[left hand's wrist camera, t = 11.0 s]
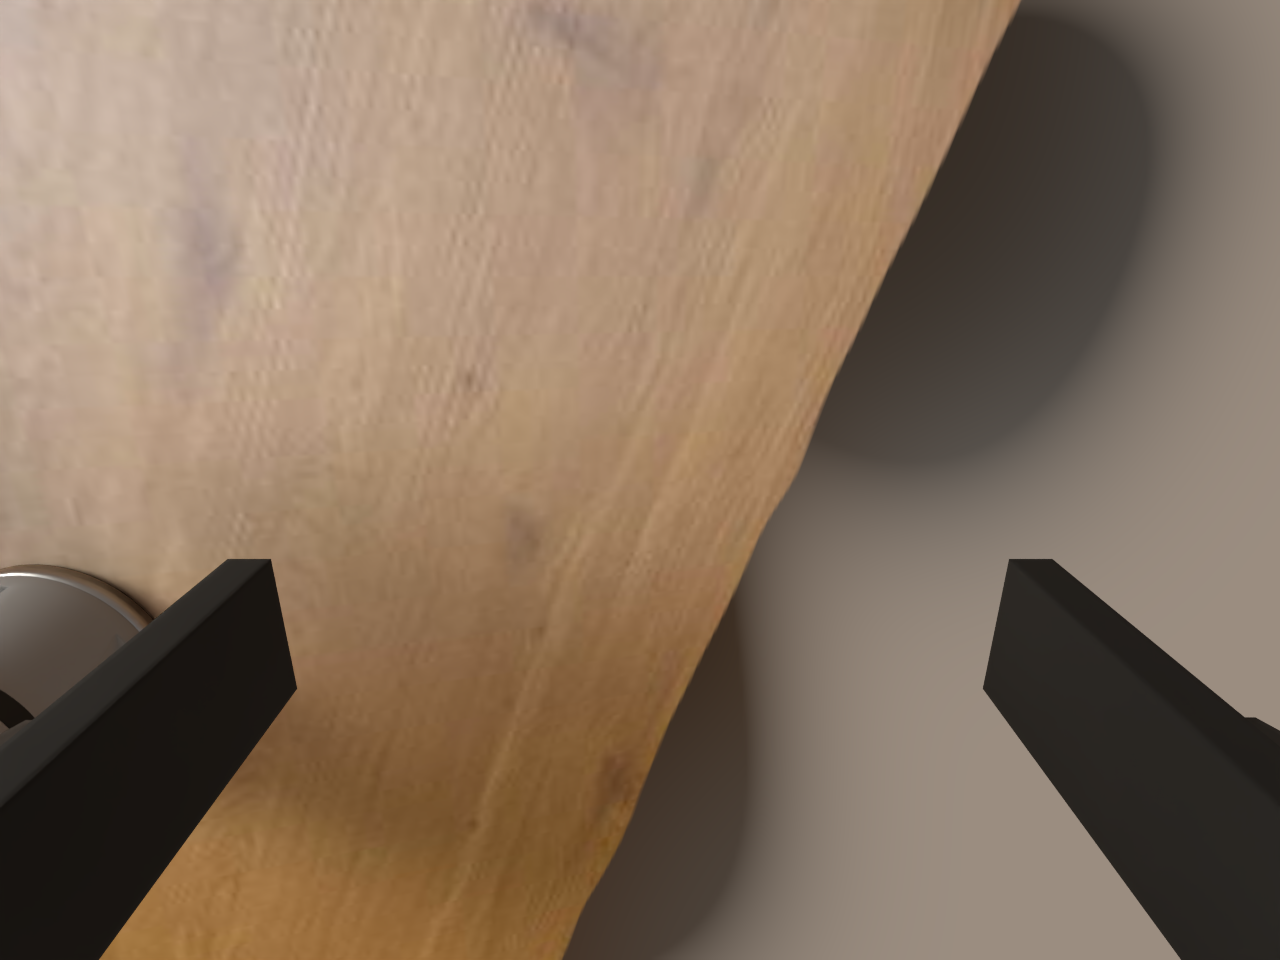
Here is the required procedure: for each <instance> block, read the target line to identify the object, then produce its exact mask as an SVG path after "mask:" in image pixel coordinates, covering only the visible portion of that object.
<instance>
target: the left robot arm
mask: <svg viewBox="0 0 1280 960" xmlns="http://www.w3.org/2000/svg"><path fill="white" fill-rule="evenodd" d="M296 689H297V686H296V681H295V676H294V671H293V666H292V661H291V656H290V651H289V646H288V641H287V636H286V631H285V627H284V622H283V617H282V612H281V607H280V602H279V597H278V592H277V587H276V582H275V577H274V572H273V567H272V562H271V559H227V560H226V561H225V562H224V563H222V564H221V565H220V566H219V567H218V568H216V569H215V570H214V571H213V572H211V573H210V574H209V575H208V576H207V577H205V578H204V579H203V580H202V581H201V582H199V583H198V584H197V585H196V586H194V587H193V588H192V589H191V590H190V591H188V592H187V593H186V594H185V595H184V596H182V597H181V598H180V599H179V600H177V601H176V602H175V603H174V604H173V605H171V606H170V607H169V608H168V609H167V610H165V611H164V612H163V613H162V614H160V615H159V616H158V617H157V618H156V619H154V620H153V619H152V618H151V617H150V616H149V615H148V614H147V613H146V612H145V611H144V610H143V609H142V608H141V607H140V606H139V605H138V604H136V603H135V602H134V601H133V600H131V599H130V598H129V597H127V596H126V595H125V594H123V593H122V592H120V591H119V590H117V589H115V588H114V587H112V586H110V585H108V584H107V583H104V582H102V581H100V580H98V579H96V578H94V577H91V576H89V575H86V574H84V573H80V572H77V571H74V570H70V569H66V568H62V567H56V566H49V565H20V566H13V567H8V568H4V569H0V960H99V959H100V957H101V956H102V955H103V953H104V952H105V951H106V949H107V948H108V946H109V945H110V944H111V942H112V941H113V940H114V938H115V937H116V935H117V934H118V933H119V931H120V930H121V929H122V927H123V926H124V925H125V923H126V922H127V920H128V919H129V918H130V916H131V915H132V914H133V912H134V911H135V910H136V908H137V907H138V905H139V904H140V903H141V901H142V900H143V899H144V897H145V896H146V894H147V893H148V892H149V890H150V889H151V888H152V886H153V885H154V884H155V882H156V881H157V879H158V878H159V877H160V875H161V874H162V873H163V871H164V870H165V868H166V867H167V866H168V864H169V863H170V862H171V860H172V859H173V858H174V856H175V855H176V853H177V852H178V851H179V849H180V848H181V847H182V845H183V844H184V843H185V841H186V840H187V838H188V837H189V836H190V834H191V833H192V832H193V830H194V829H195V827H196V826H197V825H198V823H199V822H200V821H201V819H202V818H203V817H204V815H205V814H206V812H207V811H208V810H209V808H210V807H211V806H212V804H213V803H214V802H215V800H216V799H217V797H218V796H219V795H220V793H221V792H222V791H223V789H224V788H225V786H226V785H227V784H228V782H229V781H230V780H231V778H232V777H233V776H234V774H235V773H236V771H237V770H238V769H239V767H240V766H241V765H242V763H243V762H244V760H245V759H246V758H247V756H248V755H249V754H250V752H251V751H252V750H253V748H254V747H255V745H256V744H257V743H258V741H259V740H260V739H261V737H262V736H263V735H264V733H265V732H266V730H267V729H268V728H269V726H270V725H271V724H272V722H273V721H274V719H275V718H276V717H277V715H278V714H279V713H280V711H281V710H282V709H283V707H284V706H285V704H286V703H287V702H288V700H289V699H290V698H291V696H292V695H293V694H294V692H295V691H296ZM983 689H984V691H985V692H986V694H987V695H988V696H989V698H990V699H991V700H992V702H993V703H994V704H995V706H996V707H997V709H998V710H999V711H1000V713H1001V714H1002V715H1003V717H1004V718H1005V719H1006V721H1007V722H1008V724H1009V725H1010V726H1011V728H1012V729H1013V730H1014V732H1015V733H1016V735H1017V736H1018V737H1019V739H1020V740H1021V741H1022V743H1023V744H1024V745H1025V747H1026V748H1027V750H1028V751H1029V752H1030V754H1031V755H1032V756H1033V758H1034V759H1035V760H1036V762H1037V763H1038V765H1039V766H1040V767H1041V769H1042V770H1043V771H1044V773H1045V774H1046V776H1047V777H1048V778H1049V780H1050V781H1051V782H1052V784H1053V785H1054V786H1055V788H1056V789H1057V790H1058V792H1059V793H1060V795H1061V796H1062V797H1063V799H1064V800H1065V802H1066V803H1067V804H1068V806H1069V807H1070V808H1071V810H1072V811H1073V812H1074V814H1075V815H1076V816H1077V818H1078V819H1079V820H1080V822H1081V823H1082V825H1083V826H1084V827H1085V829H1086V830H1087V831H1088V833H1089V834H1090V836H1091V837H1092V838H1093V840H1094V841H1095V843H1096V844H1097V845H1098V847H1099V848H1100V849H1101V851H1102V852H1103V853H1104V855H1105V856H1106V858H1107V859H1108V860H1109V862H1110V863H1111V864H1112V866H1113V867H1114V868H1115V870H1116V871H1117V873H1118V874H1119V875H1120V877H1121V878H1122V879H1123V881H1124V882H1125V883H1126V885H1127V886H1128V888H1129V889H1130V890H1131V892H1132V893H1133V894H1134V896H1135V897H1136V899H1137V900H1138V901H1139V903H1140V904H1141V905H1142V907H1143V908H1144V910H1145V911H1146V912H1147V914H1148V915H1149V916H1150V918H1151V919H1152V920H1153V922H1154V923H1155V924H1156V926H1157V927H1158V929H1159V930H1160V931H1161V933H1162V934H1163V935H1164V937H1165V938H1166V940H1167V941H1168V942H1169V944H1170V945H1171V946H1172V948H1173V949H1174V951H1175V952H1176V953H1177V955H1178V956H1179V957H1180V959H1181V960H1280V731H1279V730H1277V729H1276V728H1274V727H1272V726H1270V725H1268V724H1266V723H1264V722H1263V721H1261V720H1259V719H1257V718H1245V717H1243V716H1242V715H1241V714H1240V713H1239V712H1237V711H1236V710H1235V709H1234V708H1233V707H1231V706H1230V705H1229V704H1228V703H1226V702H1225V701H1224V700H1223V699H1221V698H1220V697H1219V696H1218V695H1217V694H1216V693H1214V692H1213V691H1212V690H1211V689H1209V688H1208V687H1207V686H1206V685H1205V684H1203V683H1202V682H1201V681H1200V680H1198V679H1197V678H1196V677H1195V676H1194V675H1192V674H1191V673H1190V672H1189V671H1188V670H1186V669H1185V668H1184V667H1183V666H1181V665H1180V664H1179V663H1178V662H1177V661H1175V660H1174V659H1173V658H1172V657H1170V656H1169V655H1168V654H1167V653H1166V652H1164V651H1163V650H1162V649H1161V648H1160V647H1158V646H1157V645H1156V644H1155V643H1153V642H1152V641H1151V640H1150V639H1149V638H1147V637H1146V636H1145V635H1144V634H1143V633H1141V632H1140V631H1139V630H1138V629H1137V628H1135V627H1134V626H1133V625H1132V624H1130V623H1129V622H1128V621H1127V620H1126V619H1124V618H1123V617H1122V616H1121V615H1120V614H1118V613H1117V612H1116V611H1115V610H1113V609H1112V608H1111V607H1110V606H1109V605H1107V604H1106V603H1105V602H1104V601H1102V600H1101V599H1100V598H1099V597H1098V596H1096V595H1095V594H1094V593H1093V592H1092V591H1090V590H1089V589H1088V588H1087V587H1086V586H1084V585H1083V584H1082V583H1081V582H1079V581H1078V580H1077V579H1076V578H1075V577H1073V576H1072V575H1071V574H1070V573H1068V572H1067V571H1066V570H1065V569H1064V568H1062V567H1061V566H1060V565H1059V564H1058V563H1056V562H1055V561H1054V560H1053V559H1009V563H1008V568H1007V572H1006V577H1005V582H1004V587H1003V592H1002V597H1001V602H1000V607H999V612H998V617H997V622H996V627H995V631H994V636H993V641H992V646H991V651H990V656H989V661H988V666H987V671H986V676H985V681H984V686H983Z"/></svg>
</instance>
